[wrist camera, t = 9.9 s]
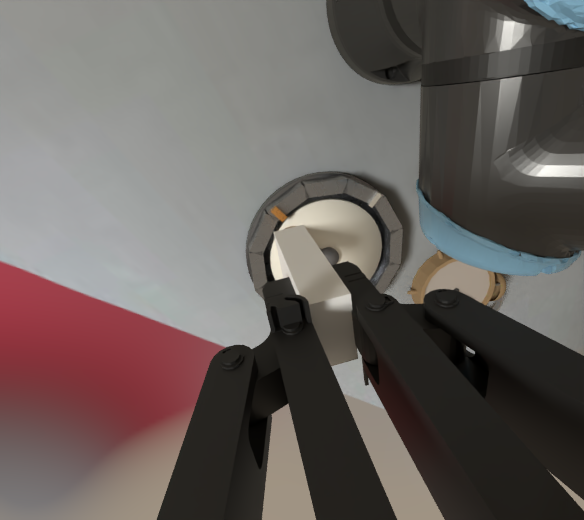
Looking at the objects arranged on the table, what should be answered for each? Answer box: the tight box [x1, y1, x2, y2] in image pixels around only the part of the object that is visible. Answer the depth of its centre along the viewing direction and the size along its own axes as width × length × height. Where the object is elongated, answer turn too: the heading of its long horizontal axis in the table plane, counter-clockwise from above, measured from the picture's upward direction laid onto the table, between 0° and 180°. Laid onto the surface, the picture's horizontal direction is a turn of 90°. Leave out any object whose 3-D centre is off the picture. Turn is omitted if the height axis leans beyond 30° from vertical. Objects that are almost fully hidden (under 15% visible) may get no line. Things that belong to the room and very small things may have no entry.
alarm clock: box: [408, 250, 506, 311], centre depth 50 cm, size 11×5×15 cm
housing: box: [246, 172, 403, 299], centre depth 43 cm, size 20×20×4 cm
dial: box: [270, 198, 382, 280], centre depth 39 cm, size 14×14×10 cm
